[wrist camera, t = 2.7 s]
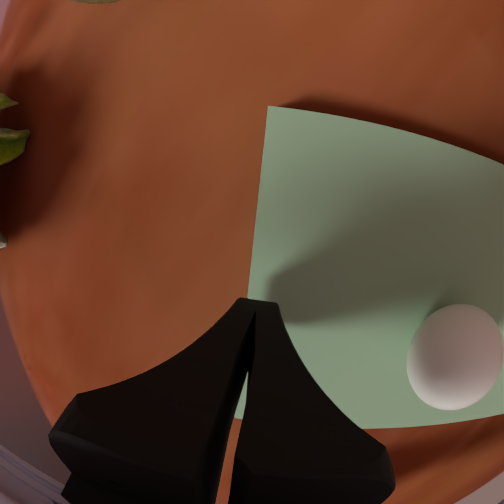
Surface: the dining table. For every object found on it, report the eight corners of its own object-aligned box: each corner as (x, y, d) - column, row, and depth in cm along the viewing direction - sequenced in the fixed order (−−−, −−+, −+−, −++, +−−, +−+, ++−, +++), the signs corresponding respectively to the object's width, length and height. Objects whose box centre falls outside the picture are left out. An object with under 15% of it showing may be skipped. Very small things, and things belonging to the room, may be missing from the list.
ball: (453, 363, 11) (484, 425, 8) (382, 361, 12) (402, 436, 8) (489, 289, 10) (539, 345, 6) (414, 279, 10) (459, 347, 6)
